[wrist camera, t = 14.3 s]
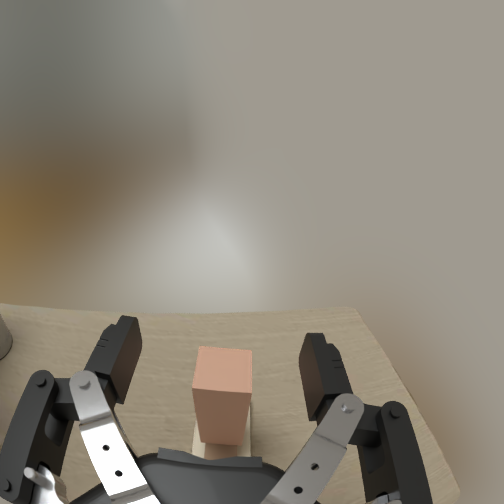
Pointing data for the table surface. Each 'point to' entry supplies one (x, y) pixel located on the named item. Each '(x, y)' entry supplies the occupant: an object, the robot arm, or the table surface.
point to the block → (222, 394)
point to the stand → (221, 446)
